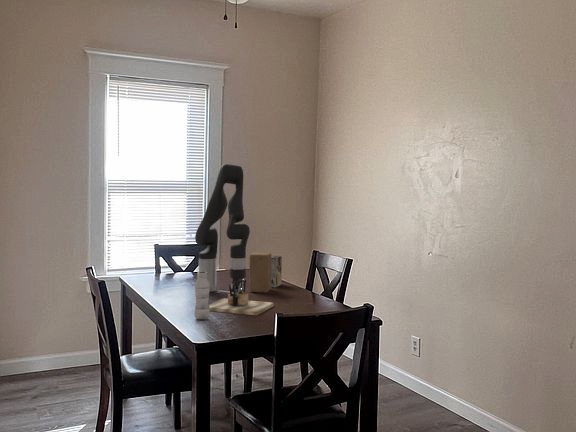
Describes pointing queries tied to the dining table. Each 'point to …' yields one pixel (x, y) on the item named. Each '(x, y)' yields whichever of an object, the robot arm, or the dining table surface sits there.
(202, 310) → the plastic bottle
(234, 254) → the robot arm
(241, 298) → the block
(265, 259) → the wooden block
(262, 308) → the board
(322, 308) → the dining table surface
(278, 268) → the coffee box
